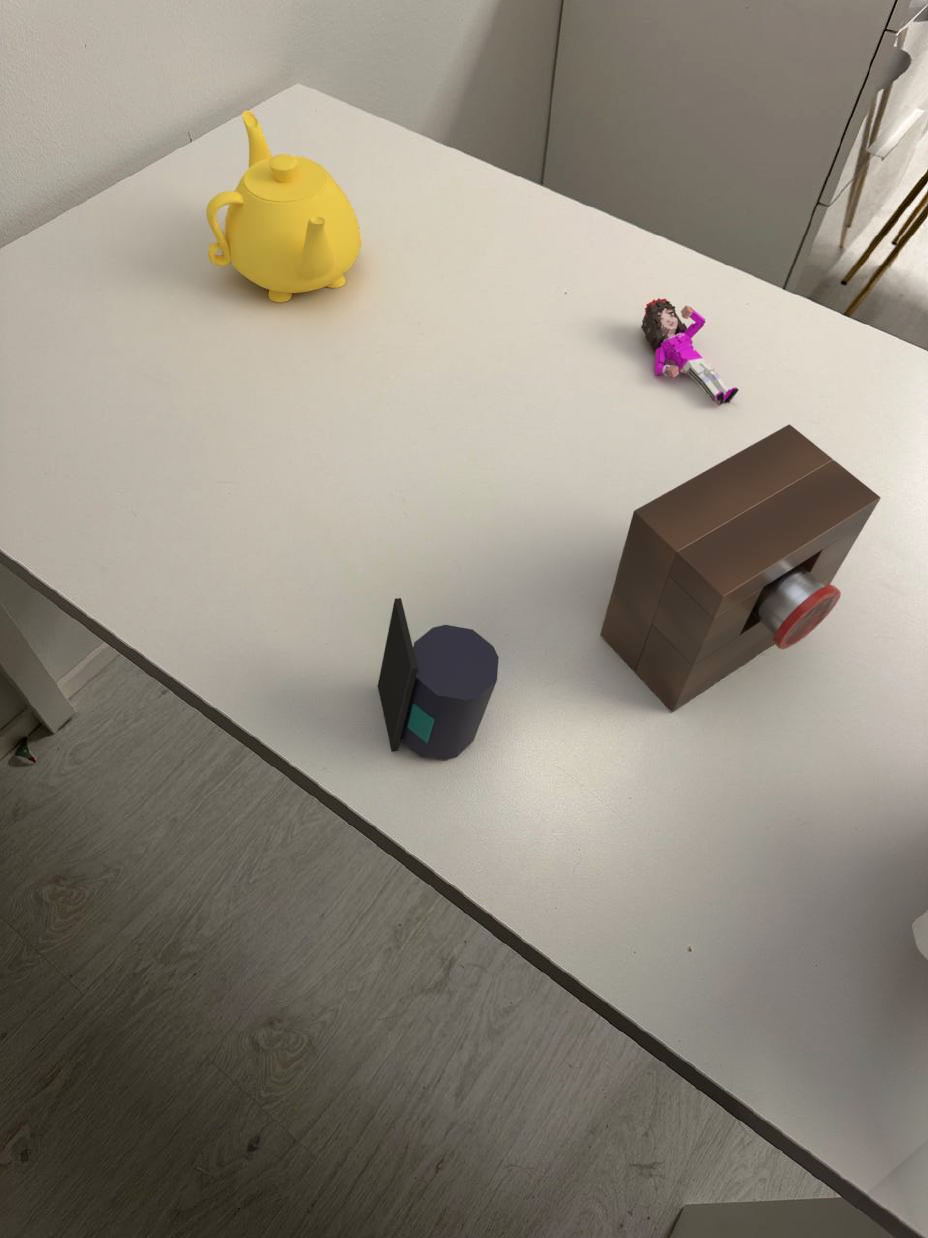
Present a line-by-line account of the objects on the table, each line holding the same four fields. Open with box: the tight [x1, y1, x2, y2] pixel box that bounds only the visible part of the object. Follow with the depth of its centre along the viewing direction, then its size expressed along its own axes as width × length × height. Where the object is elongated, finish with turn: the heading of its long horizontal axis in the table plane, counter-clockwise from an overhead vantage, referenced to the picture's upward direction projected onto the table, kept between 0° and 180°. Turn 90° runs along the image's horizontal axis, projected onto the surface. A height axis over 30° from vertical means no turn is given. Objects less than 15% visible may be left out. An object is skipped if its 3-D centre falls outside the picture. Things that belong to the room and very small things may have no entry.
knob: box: [751, 564, 842, 650], centre depth 61 cm, size 4×5×5 cm
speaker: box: [377, 597, 500, 761], centre depth 61 cm, size 8×6×10 cm
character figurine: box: [640, 297, 739, 406], centre depth 86 cm, size 6×5×12 cm
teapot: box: [205, 110, 362, 303], centre depth 89 cm, size 20×15×12 cm
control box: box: [599, 424, 882, 713], centre depth 65 cm, size 8×14×14 cm, turn 125°
